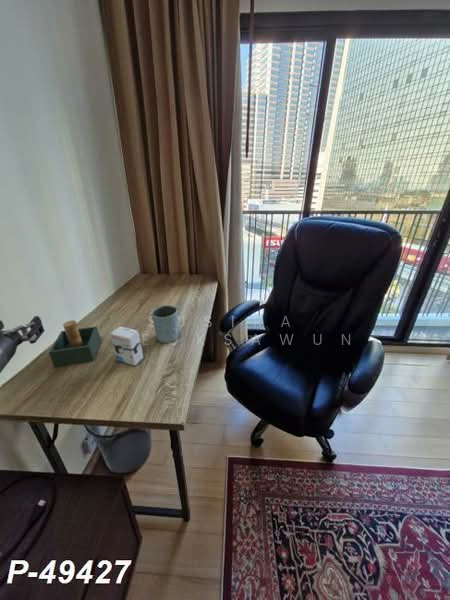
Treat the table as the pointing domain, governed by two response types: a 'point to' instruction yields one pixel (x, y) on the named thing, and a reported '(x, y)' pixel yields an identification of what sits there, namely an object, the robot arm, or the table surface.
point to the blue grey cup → (165, 323)
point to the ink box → (127, 345)
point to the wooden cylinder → (73, 334)
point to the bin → (75, 348)
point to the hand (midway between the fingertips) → (19, 321)
